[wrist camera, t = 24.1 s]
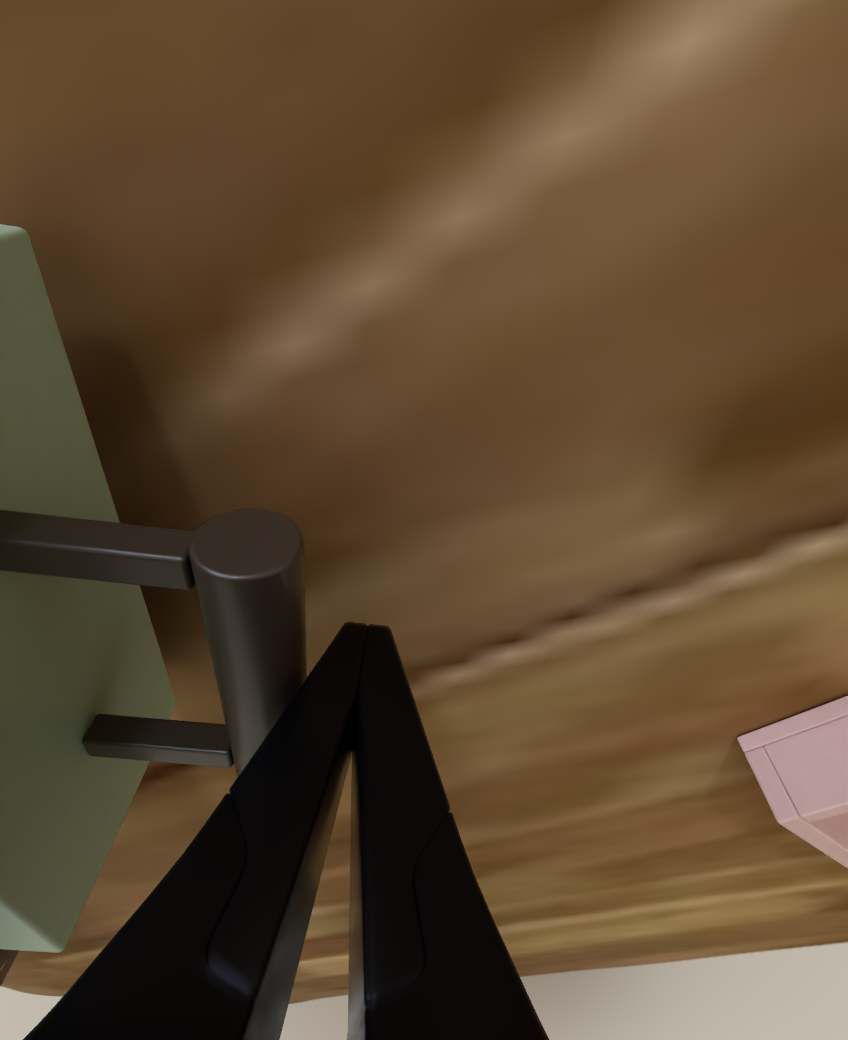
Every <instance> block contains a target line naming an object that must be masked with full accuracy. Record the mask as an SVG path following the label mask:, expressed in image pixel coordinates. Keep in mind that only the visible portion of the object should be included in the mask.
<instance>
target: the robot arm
mask: <svg viewBox="0 0 848 1040" xmlns="http://www.w3.org/2000/svg"><path fill="white" fill-rule="evenodd" d="M351 754H352V781H351V853H350V925H349V997H348V999H349V1001H348V1035H347V1040H549V1038H548V1036H547V1034H546V1032H545V1030H544V1028H543V1026H542V1024H541V1022H540V1020H539V1018H538V1016H537V1014H536V1012H535V1009H534V1007H533V1005H532V1003H531V1001H530V999H529V996H528V994H527V992H526V990H525V988H524V985H523V983H522V981H521V979H520V977H519V974H518V972H517V970H516V968H515V966H514V964H513V961H512V959H511V957H510V955H509V953H508V951H507V948H506V946H505V944H504V942H503V940H502V937H501V935H500V933H499V931H498V929H497V927H496V924H495V922H494V920H493V918H492V916H491V913H490V911H489V909H488V906H487V904H486V902H485V899H484V897H483V895H482V892H481V890H480V888H479V885H478V883H477V881H476V878H475V876H474V873H473V871H472V868H471V865H470V862H469V860H468V857H467V854H466V851H465V849H464V846H463V843H462V841H461V838H460V835H459V832H458V829H457V826H456V823H455V820H454V817H453V814H452V813H451V812H449V810H450V806H449V803H448V800H447V797H446V794H445V791H444V788H443V785H442V782H441V779H440V776H439V773H438V770H437V767H436V764H435V761H434V758H433V755H432V752H431V749H430V746H429V743H428V740H427V737H426V734H425V731H424V728H423V725H422V722H421V719H420V716H419V713H418V710H417V707H416V704H415V701H414V698H413V695H412V692H411V689H410V686H409V683H408V680H407V677H406V674H405V671H404V668H403V665H402V662H401V659H400V656H399V653H398V650H397V647H396V644H395V641H394V638H393V635H392V632H391V630H390V628H389V627H388V626H384V625H374V624H370V625H367V624H365V623H356V622H347V623H345V624H344V625H343V627H342V628H341V629H340V631H339V632H338V634H337V635H336V637H335V638H334V640H333V641H332V642H331V644H330V645H329V647H328V648H327V650H326V651H325V653H324V654H323V655H322V657H321V658H320V660H319V661H318V663H317V664H316V666H315V667H314V668H313V670H312V671H311V673H310V674H309V676H308V677H307V678H306V680H305V681H304V683H303V684H302V686H301V687H300V689H299V690H298V691H297V693H296V694H295V696H294V697H293V699H292V700H291V702H290V703H289V704H288V706H287V707H286V709H285V710H284V712H283V713H282V715H281V716H280V717H279V719H278V720H277V722H276V723H275V725H274V726H273V727H272V729H271V730H270V732H269V733H268V735H267V736H266V738H265V739H264V740H263V742H262V743H261V745H260V746H259V748H258V749H257V751H256V752H255V753H254V755H253V756H252V758H251V759H250V761H249V762H248V764H247V765H246V766H245V768H244V769H243V771H242V772H241V774H240V775H239V776H238V778H237V779H236V781H235V782H234V784H233V785H232V787H231V788H230V794H226V795H225V796H224V798H223V799H222V801H221V802H220V803H219V805H218V806H217V808H216V809H215V811H214V812H213V814H212V815H211V816H210V818H209V819H208V821H207V822H206V823H205V825H204V826H203V827H202V829H201V830H200V831H199V833H198V834H197V836H196V837H195V838H194V840H193V841H192V842H191V844H190V845H189V846H188V848H187V849H186V851H185V852H184V853H183V854H182V856H181V857H180V858H179V859H178V861H177V862H176V863H175V864H174V866H173V867H172V868H171V869H170V871H169V872H168V873H167V874H166V875H165V877H164V878H163V879H162V880H161V882H160V883H159V884H158V885H157V887H156V888H155V889H154V890H153V892H152V893H151V894H150V895H149V896H148V897H147V899H146V900H145V901H144V902H143V903H142V905H141V906H140V907H139V908H138V909H137V910H136V912H135V913H134V914H133V915H132V916H131V917H130V919H129V920H128V921H127V922H126V923H125V925H124V926H123V927H122V928H121V929H120V930H119V932H118V933H117V934H116V935H115V936H114V938H113V939H112V940H111V941H110V942H109V943H108V945H107V946H106V947H105V948H104V949H103V950H102V952H101V953H100V954H99V955H98V956H97V958H96V959H95V960H94V961H93V962H92V963H91V965H90V966H89V967H88V968H87V969H86V971H85V972H84V973H83V974H82V975H81V976H80V978H79V979H78V980H77V981H76V982H75V983H74V985H73V986H72V987H71V988H70V989H69V990H68V992H67V993H66V994H65V995H64V996H63V997H62V998H61V1000H60V1001H59V1002H58V1003H57V1004H56V1005H55V1006H54V1007H53V1009H52V1010H51V1011H50V1012H49V1013H48V1014H47V1015H46V1016H45V1017H44V1018H43V1019H42V1020H41V1022H40V1023H39V1024H38V1025H37V1026H36V1027H35V1028H34V1029H33V1030H32V1031H31V1032H30V1033H29V1034H28V1035H27V1036H26V1037H25V1038H24V1039H23V1040H279V1039H280V1035H281V1031H282V1027H283V1023H284V1019H285V1015H286V1011H287V1007H288V1003H289V999H290V995H291V992H292V988H293V984H294V980H295V976H296V972H297V968H298V964H299V960H300V956H301V952H302V948H303V944H304V940H305V936H306V932H307V928H308V924H309V920H310V916H311V912H312V908H313V904H314V901H315V897H316V893H317V889H318V885H319V881H320V877H321V873H322V869H323V865H324V861H325V857H326V853H327V849H328V845H329V841H330V837H331V833H332V829H333V825H334V821H335V817H336V813H337V809H338V806H339V802H340V798H341V794H342V790H343V786H344V782H345V778H346V774H347V770H348V766H349V762H350V758H351Z"/></svg>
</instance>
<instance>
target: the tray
mask: <svg viewBox="0 0 848 1040" xmlns="http://www.w3.org/2000/svg"><path fill="white" fill-rule="evenodd" d="M737 740H738V742H739V744H740V746H741V748H742V750H743V752H744V753H745V757H746V759H747V761H748V763H749V765H750V767H751V769H752V771H753V773H754V775H755V777H756V779H757V781H758V783H759V785H760V787H761V790H762V792H763V794H764V796H765V798H766V800H767V802H768V804H769V806H770V808H771V810H772V812H773V814H774V816H775V818H776V820H777V822H778V823H779V824H780V825H782V826H783V827H785V828H787V829H788V830H790V831H791V832H793V833H794V834H796V835H797V836H799V837H800V838H802V839H803V840H805V841H806V842H808V843H809V844H811V845H813V846H814V847H816V848H817V849H819V850H820V851H822V852H823V853H825V854H826V855H828V856H829V857H831V858H832V859H834V860H835V861H837V862H838V863H840V864H842V865H843V866H845V867H846V868H848V696H845V697H843V698H840V699H837V700H835V701H832V702H829V703H827V704H824V705H821V706H819V707H816V708H813V709H811V710H808V711H806V712H803V713H800V714H798V715H795V716H792V717H790V718H787V719H784V720H782V721H779V722H776V723H774V724H771V725H768V726H766V727H763V728H760V729H758V730H755V731H753V732H750V733H747V734H745V735H742V736H739V737H737Z"/></svg>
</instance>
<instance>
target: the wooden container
mask: <svg viewBox="0 0 848 1040" xmlns="http://www.w3.org/2000/svg"><path fill="white" fill-rule="evenodd" d="M18 952H19V950H5V949H0V986H1V984H2V983H3V981H4V979H5V977H6V975H7V973H8V971H9V969H10V967H11V965H12V963H13V961H14V959H15V958H16V956H17V954H18Z"/></svg>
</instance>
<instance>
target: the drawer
mask: <svg viewBox="0 0 848 1040" xmlns="http://www.w3.org/2000/svg"><path fill="white" fill-rule="evenodd" d="M194 584H196V589H197V593H198V598H199V602H200V607H201V612H202V616H203V621H204V626H205V630H206V635H207V639H208V644H209V649H210V653H211V658H212V662H213V667H214V672H215V676H216V681H217V685H218V690H219V695H220V699H221V704H222V708H223V713H224V718H225V722H226V725H222V724H211V723H200V722H188V721H177V720H169V718H170V716H171V713H172V711H173V709H174V707H175V705H176V699H175V695H174V692H173V689H172V686H171V683H170V680H169V676H168V673H167V670H166V667H165V664H164V661H163V657H162V654H161V651H160V648H159V645H158V642H157V639H156V635H155V632H154V629H153V626H152V623H151V620H150V616H149V613H148V610H147V607H146V604H145V601H144V597H143V594H142V591H141V588H140V585H142V586H151V587H161V588H170V589H180V590H191V589H192V588H193V586H194ZM306 678H307V668H306V627H305V587H304V547H303V536H302V534H301V531H300V530H299V528H298V527H297V525H296V524H295V523H294V522H293V521H292V520H291V519H289V518H288V517H286V516H284V515H282V514H280V513H277V512H274V511H271V510H266V509H256V508H248V509H239V510H233V511H229V512H226V513H223V514H220V515H218V516H216V517H214V518H212V519H210V520H208V521H207V522H205V523H204V524H203V525H202V526H201V527H200V528H199V529H198V530H197V531H196V532H195V531H186V530H177V529H169V528H160V527H151V526H142V525H133V524H124V523H120V522H119V518H118V515H117V512H116V509H115V506H114V503H113V499H112V496H111V493H110V490H109V487H108V484H107V480H106V477H105V474H104V471H103V468H102V465H101V462H100V458H99V455H98V452H97V449H96V446H95V443H94V439H93V436H92V433H91V430H90V427H89V424H88V420H87V417H86V414H85V411H84V408H83V405H82V401H81V398H80V395H79V392H78V389H77V386H76V383H75V379H74V376H73V373H72V370H71V367H70V364H69V360H68V357H67V354H66V351H65V348H64V345H63V341H62V338H61V335H60V332H59V329H58V326H57V322H56V319H55V316H54V313H53V310H52V307H51V303H50V300H49V297H48V294H47V291H46V288H45V285H44V281H43V278H42V275H41V272H40V269H39V266H38V262H37V259H36V256H35V253H34V250H33V247H32V243H31V240H30V237H29V234H28V233H27V231H26V230H25V229H22V228H20V227H15V226H8V225H1V224H0V949H5V950H22V951H39V952H55V953H59V952H61V951H63V950H64V949H65V947H66V945H67V943H68V941H69V938H70V936H71V934H72V932H73V930H74V927H75V925H76V923H77V921H78V919H79V916H80V914H81V912H82V910H83V908H84V905H85V903H86V901H87V899H88V896H89V894H90V892H91V890H92V888H93V885H94V883H95V881H96V879H97V877H98V874H99V872H100V870H101V868H102V866H103V863H104V861H105V859H106V857H107V855H108V852H109V850H110V848H111V846H112V844H113V841H114V839H115V837H116V835H117V832H118V830H119V828H120V826H121V824H122V821H123V819H124V817H125V815H126V813H127V810H128V808H129V806H130V804H131V802H132V799H133V797H134V795H135V793H136V791H137V788H138V786H139V784H140V782H141V780H142V777H143V775H144V773H145V771H146V769H147V766H148V764H149V762H150V761H155V762H167V763H179V764H191V765H203V766H215V767H227V768H230V767H232V765H233V763H234V764H235V768H236V773H237V777H238V776H239V775H240V774H241V772H242V771H243V769H244V768H245V766H246V765H247V764H248V762H249V761H250V759H251V758H252V756H253V755H254V753H255V752H256V751H257V749H258V748H259V746H260V745H261V743H262V742H263V740H264V739H265V738H266V736H267V735H268V733H269V732H270V730H271V729H272V727H273V726H274V725H275V723H276V722H277V720H278V719H279V717H280V716H281V715H282V713H283V712H284V710H285V709H286V707H287V706H288V704H289V703H290V702H291V700H292V699H293V697H294V696H295V694H296V693H297V691H298V690H299V689H300V687H301V686H302V684H303V683H304V681H305V680H306Z"/></svg>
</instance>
